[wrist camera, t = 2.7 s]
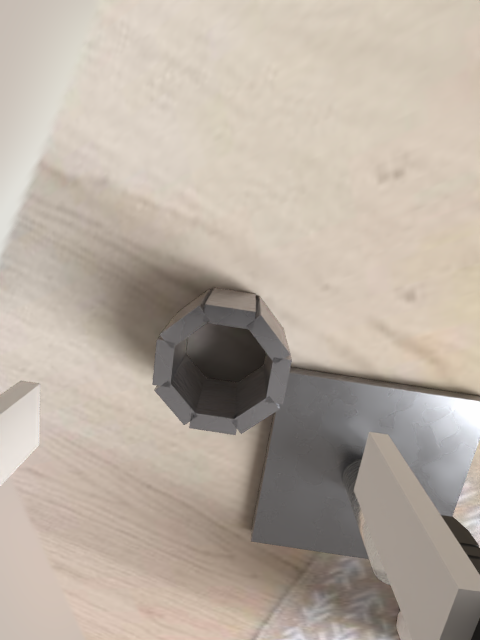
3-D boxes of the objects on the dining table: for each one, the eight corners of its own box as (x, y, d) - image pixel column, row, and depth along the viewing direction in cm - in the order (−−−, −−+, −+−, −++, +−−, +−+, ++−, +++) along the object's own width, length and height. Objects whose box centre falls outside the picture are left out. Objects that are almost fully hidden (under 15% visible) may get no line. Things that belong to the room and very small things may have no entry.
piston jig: (282, 366, 26) (295, 428, 18) (483, 396, 26) (581, 471, 18) (251, 530, 30) (250, 641, 22) (427, 557, 30) (488, 676, 22)
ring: (178, 282, 25) (160, 297, 20) (290, 299, 25) (299, 318, 20) (168, 385, 27) (148, 421, 22) (271, 400, 27) (275, 441, 22)
